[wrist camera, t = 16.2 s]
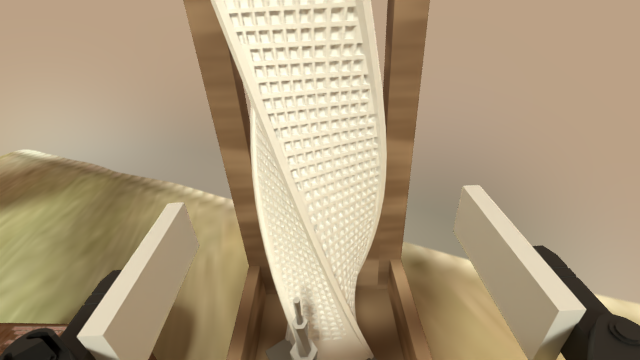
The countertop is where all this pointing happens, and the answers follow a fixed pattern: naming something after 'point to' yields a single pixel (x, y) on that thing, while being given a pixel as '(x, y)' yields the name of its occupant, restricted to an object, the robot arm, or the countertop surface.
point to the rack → (385, 252)
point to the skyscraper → (313, 158)
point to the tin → (9, 332)
